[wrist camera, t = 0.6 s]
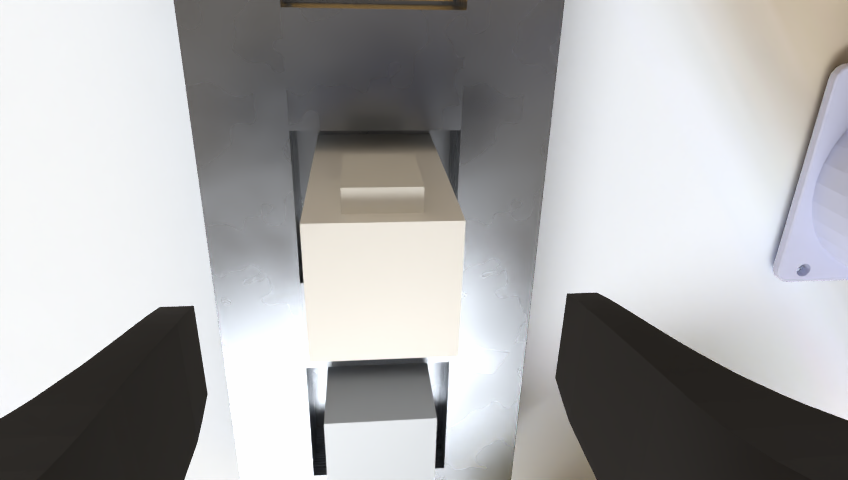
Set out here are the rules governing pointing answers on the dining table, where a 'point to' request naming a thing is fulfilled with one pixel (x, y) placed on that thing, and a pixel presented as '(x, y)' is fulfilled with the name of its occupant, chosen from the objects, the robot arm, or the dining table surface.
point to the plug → (381, 250)
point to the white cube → (380, 423)
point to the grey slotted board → (288, 179)
